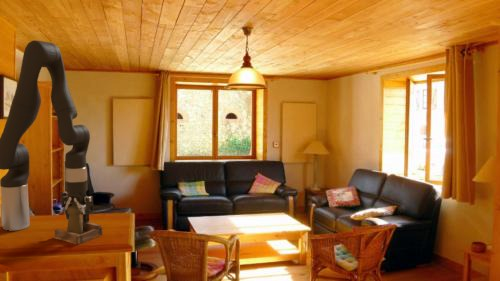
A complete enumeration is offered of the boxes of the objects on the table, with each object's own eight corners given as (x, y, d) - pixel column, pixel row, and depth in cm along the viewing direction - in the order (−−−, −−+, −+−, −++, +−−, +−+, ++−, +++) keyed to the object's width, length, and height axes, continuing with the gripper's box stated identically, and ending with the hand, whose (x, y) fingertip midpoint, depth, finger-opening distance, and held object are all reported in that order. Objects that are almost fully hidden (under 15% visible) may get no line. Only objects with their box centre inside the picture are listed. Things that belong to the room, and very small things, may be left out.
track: (53, 237, 151) (53, 227, 151) (78, 228, 161) (77, 219, 161) (78, 244, 146) (78, 234, 145) (102, 234, 156) (102, 224, 155)
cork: (76, 237, 151) (75, 209, 149) (62, 235, 152) (62, 207, 151) (87, 232, 156) (87, 204, 155) (74, 229, 158) (73, 202, 156)
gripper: (54, 178, 150) (55, 220, 153) (82, 183, 144) (83, 227, 147) (71, 174, 157) (72, 214, 159) (98, 179, 151) (99, 221, 153)
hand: (77, 220), depth 153 cm, fingers open, 8 cm apart
